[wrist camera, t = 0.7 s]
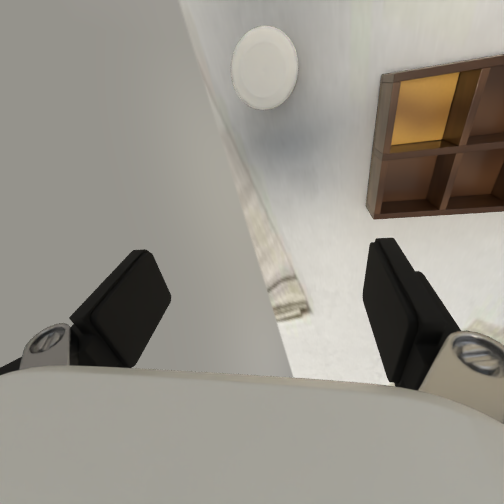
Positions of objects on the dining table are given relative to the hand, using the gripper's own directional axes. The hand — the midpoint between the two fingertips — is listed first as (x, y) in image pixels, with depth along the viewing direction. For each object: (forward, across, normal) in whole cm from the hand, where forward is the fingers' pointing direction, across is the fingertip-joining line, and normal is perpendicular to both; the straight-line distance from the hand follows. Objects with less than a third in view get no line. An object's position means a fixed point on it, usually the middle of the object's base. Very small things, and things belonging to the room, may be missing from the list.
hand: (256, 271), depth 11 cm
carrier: (+25, -22, +2) cm, 33 cm away
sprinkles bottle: (+25, 0, -7) cm, 26 cm away
